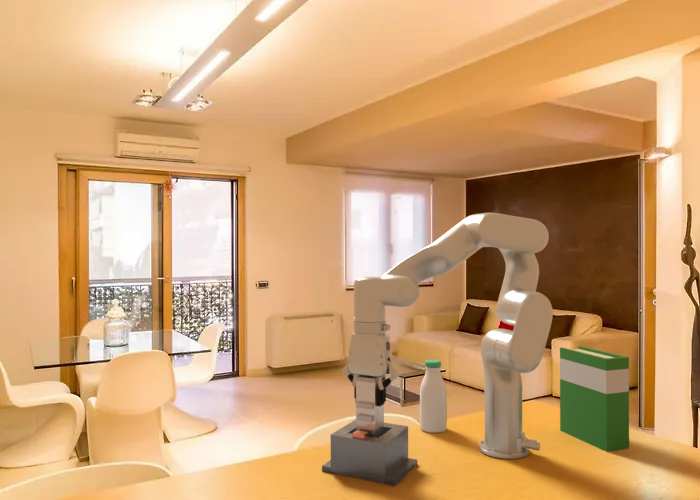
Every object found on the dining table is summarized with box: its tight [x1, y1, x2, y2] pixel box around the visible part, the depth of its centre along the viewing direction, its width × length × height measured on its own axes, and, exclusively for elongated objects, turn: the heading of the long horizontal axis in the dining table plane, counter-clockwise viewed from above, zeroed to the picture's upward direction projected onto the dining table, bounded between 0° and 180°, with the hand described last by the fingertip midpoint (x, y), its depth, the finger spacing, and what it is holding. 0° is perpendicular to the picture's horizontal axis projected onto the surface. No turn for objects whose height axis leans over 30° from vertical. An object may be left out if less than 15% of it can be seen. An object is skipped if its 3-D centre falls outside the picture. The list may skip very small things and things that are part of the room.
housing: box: [321, 419, 418, 487], centre depth 133 cm, size 19×14×10 cm
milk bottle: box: [419, 359, 448, 434], centre depth 162 cm, size 8×8×20 cm
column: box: [355, 375, 385, 438], centre depth 133 cm, size 5×6×22 cm
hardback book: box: [559, 345, 630, 453], centre depth 153 cm, size 18×7×24 cm, turn 19°
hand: (370, 402), depth 133 cm, fingers closed on column, 5 cm apart
